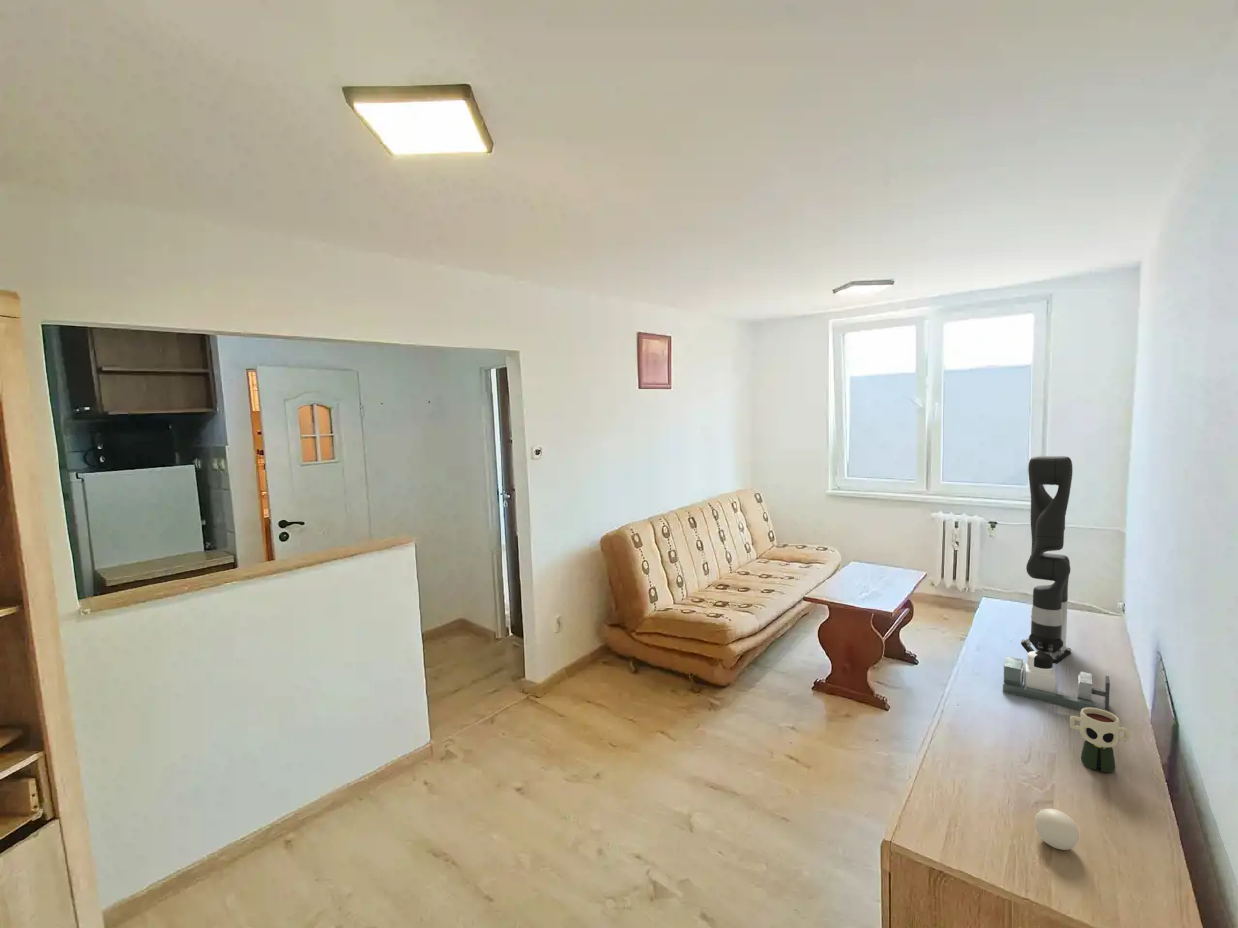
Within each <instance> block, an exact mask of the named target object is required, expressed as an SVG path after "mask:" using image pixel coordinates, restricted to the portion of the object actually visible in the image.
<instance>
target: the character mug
mask: <svg viewBox="0 0 1238 928" xmlns="http://www.w3.org/2000/svg"><path fill="white" fill-rule="evenodd" d="M1076 721H1077V722H1079V725H1076ZM1120 721H1121V720H1120V718H1119V716H1117V715H1116V714H1114V713H1113V712H1110V711H1108V710H1105V709H1101V708H1097V707H1096V708H1083V709H1082V710H1081V711H1080V716H1076V715H1070V717H1069V727H1070V728H1071V729H1072V730H1077V731H1079V733H1080V735H1081V737H1082V739H1084V742H1083V745H1082V749H1081V754H1080V759H1081V762H1082V764H1084V765H1085V766H1086V767H1088V768H1090V769H1092V770H1095V771H1097V767H1098V768H1100V772H1102V773H1112V772H1115V770H1116V762H1115V755H1114V753H1115V752H1114V747H1117V745H1118V744H1119V741H1122V742H1126V743H1129V742H1130V740H1131V730H1130V729H1128V728H1126V727H1122V726H1120ZM1120 732H1124V735H1123V736H1121V735H1120Z"/></svg>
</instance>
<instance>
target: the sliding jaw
mask: <svg viewBox="0 0 1238 928" xmlns="http://www.w3.org/2000/svg"><path fill="white" fill-rule="evenodd" d="M1077 676H1078V677H1077V698H1078V699H1082V700H1086V701H1091V702H1092V697H1093V696H1092V695H1095V696H1098V697H1099V696H1100V697H1104V699H1103V700H1104V701H1103V702H1104V710H1105V711H1108V712H1110V711H1109V709H1110V690H1111V688H1110V687H1111V686H1110V685H1111V681H1110V680H1111V679H1110V676H1108V675H1105V676H1104V677H1105V680H1104V689H1103V688H1102V689H1101V688H1096V687H1093V678H1092V677H1093V675H1092V673H1090V672H1085V671H1080V672H1079V674H1078V675H1077Z"/></svg>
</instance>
